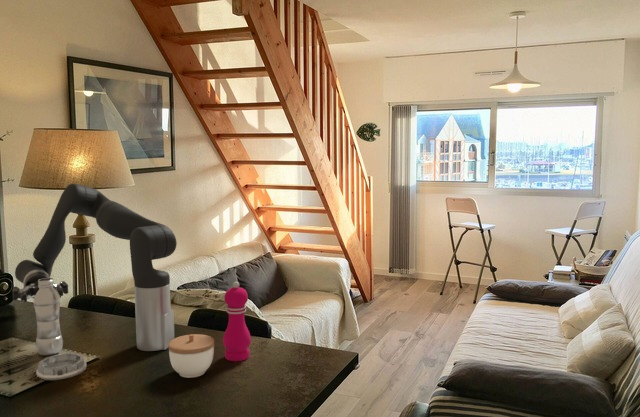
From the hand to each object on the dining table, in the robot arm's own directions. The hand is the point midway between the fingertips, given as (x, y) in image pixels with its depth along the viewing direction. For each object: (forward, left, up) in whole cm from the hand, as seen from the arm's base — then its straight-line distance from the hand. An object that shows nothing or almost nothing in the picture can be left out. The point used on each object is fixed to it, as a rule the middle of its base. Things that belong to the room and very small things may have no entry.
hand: (42, 296), depth 148 cm
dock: (-17, +19, -13) cm, 29 cm away
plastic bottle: (-7, +9, -13) cm, 17 cm away
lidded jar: (-49, +16, -13) cm, 53 cm away
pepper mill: (-57, +5, -13) cm, 59 cm away
